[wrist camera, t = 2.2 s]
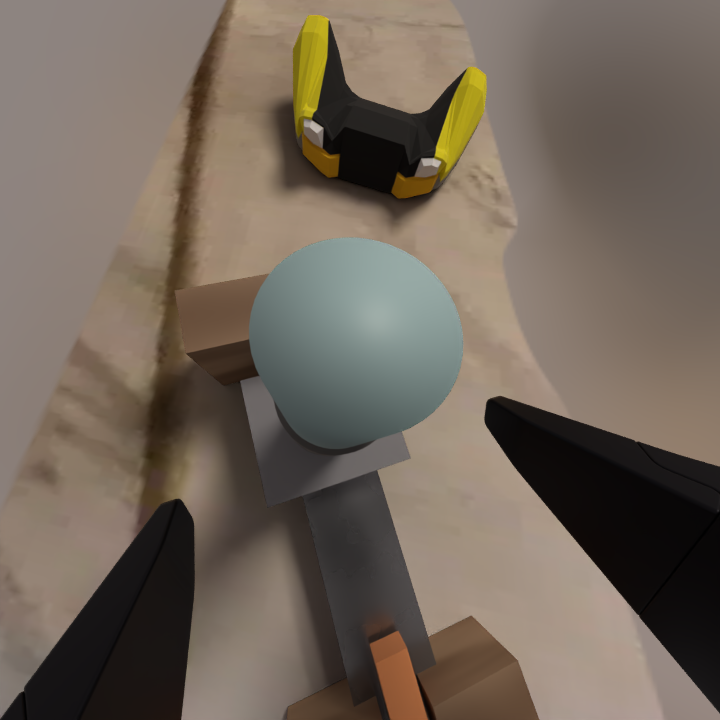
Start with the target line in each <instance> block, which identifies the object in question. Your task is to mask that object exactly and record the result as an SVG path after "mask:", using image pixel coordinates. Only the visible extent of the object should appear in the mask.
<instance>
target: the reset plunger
mask: <svg viewBox="0 0 720 720" xmlns="http://www.w3.org/2000/svg"><path fill="white" fill-rule="evenodd" d="M370 648H371V652H372V655H373V659H374V663H375V667H376V671H377V674H378V678H379V682H380V686H381V689H382V693H383V697H384V701H385V704H386V708H387V712H388V716H389V720H428V718H427V715H426V711H425V708H424V704H423V701H422V698H421V694H420V691H419V687H418V684H417V680H416V677H415V673H414V670H413V667H412V663H411V660H410V656H409V653H408V649H407V647H406V645H405V643H404V641H403V639H402V637H401V635H400V633H399V631H396V632H394V633H392V634H390V635H388V636H386V637H384V638H381V639H379V640H377V641H375V642H373V643H371V644H370Z"/></svg>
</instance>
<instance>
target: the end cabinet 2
mask: <svg viewBox="0 0 720 720" xmlns="http://www.w3.org/2000/svg"><path fill="white" fill-rule="evenodd" d="M428 638H429V641H430V645H431V648H432V651H433V654H434V658H435V661H436V665H434V666H432V667H430V668H428V669H426V670H424V671H422V672H420V673H418V674H417V676H418V680H419V683H420V687H421V690H422V694H423V697H424V700H425V704H426V707H427V711H428V714H429V718H430V720H539V718H538V715H537V712H536V710H535V707H534V704H533V701H532V699H531V696H530V693H529V690H528V688H527V685H526V682H525V679H524V677H523V674H522V671H521V668H520V666H519V663H518V660H517V659H516V658H515V657H514V656H513V655H512V654H511V653H510V652H508V651H507V650H506V649H505V648H504V647H503V646H502V645H501V644H500V643H499V642H498V641H497V640H496V639H495V638H494V637H493V636H492V635H491V634H490V633H489V632H488V631H487V630H486V629H485V628H484V627H483V626H482V625H481V624H480V623H479V622H478V621H476V620H475V619H474V618H473V617H472V616H470V617H468V618H466V619H464V620H462V621H460V622H458V623H456V624H454V625H452V626H450V627H448V628H446V629H444V630H442V631H440V632H438V633H436V634H434V635H432V636H430V637H428ZM287 720H382V716H381V713H380V709H379V706H378V702H377V698H376V696H374V697H372V698H370V699H369V700H367V701H365V702H363V703H361V704H359V705H357V706H355V707H354V704H353V700H352V696H351V692H350V688H349V684H348V680H347V678H345V679H343V680H341V681H339V682H337V683H335V684H333V685H331V686H329V687H327V688H325V689H323V690H321V691H319V692H317V693H315V694H313V695H311V696H309V697H307V698H305V699H303V700H301V701H299V702H297V703H295V704H293V705H291V706H289V707H288V713H287Z"/></svg>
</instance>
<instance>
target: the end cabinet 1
mask: <svg viewBox="0 0 720 720" xmlns="http://www.w3.org/2000/svg"><path fill="white" fill-rule="evenodd" d="M268 275H269V274H265V275H259V276H254V277H248V278H243V279H237V280H231V281H226V282H220V283H215V284H209V285H203V286H198V287H192V288H187V289H181V290H175V295H176V300H177V306H178V312H179V318H180V323H181V329H182V335H183V341H184V346H185V352H186V354H187V355H188V356H189V357H191V358H192V359H193V360H194V361H195V362H196V363H198V364H199V365H200V366H201V367H202V368H203V369H205V370H206V371H207V372H208V373H209V374H211V375H212V376H213V377H214V378H215V379H216V380H218V381H219V382H220V383H221V384H222V385H223V386H224V385H228V384H232V383H236V382H240V381H241V380H245V379H249V378H253V377H257V376H259V374H258V371H257V369H256V367H255V364H254V361H253V357H252V354H251V348H250V342H249V323H250V316H251V310H252V307H253V304H254V300H255V298H256V296H257V294H258V291H259V289H260V287H261V286H262V284H263V283H264V281H265V279H266V278H267V276H268Z"/></svg>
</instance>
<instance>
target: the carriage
mask: <svg viewBox="0 0 720 720" xmlns="http://www.w3.org/2000/svg"><path fill="white" fill-rule="evenodd" d="M249 342H250V348H251V354H252V357H253V361H254V364H255V367H256V369H257V371H258V374H259V376H257V377H253V378H249V379H245V380H241V381H240V383H241V388H242V392H243V397H244V402H245V406H246V411H247V415H248V420H249V425H250V429H251V434H252V439H253V443H254V448H255V453H256V457H257V462H258V467H259V471H260V476H261V480H262V485H263V490H264V494H265V499H266V504H267V508H269V507H271V506H274V505H277V504H280V503H283V502H286V501H289V500H292V499H295V498H297V497H300V496H303V495H306V494H309V493H312V492H315V491H318V490H321V489H323V488H326V487H329V486H332V485H335V484H338V483H341V482H344V481H347V480H349V479H352V478H355V477H358V476H361V475H364V474H367V473H370V472H373V471H375V470H378V469H381V468H384V467H387V466H390V465H393V464H396V463H399V462H401V461H404V460H407V459H410V455H409V452H408V449H407V446H406V443H405V440H404V437H403V434H402V431H404V430H406V429H409V428H411V427H413V426H414V425H416V424H418V423H419V422H421V421H423V420H424V419H425V418H427V417H428V416H429V415H430V414H432V413H433V412H434V411H435V410H436V409H437V408H438V407H439V406H440V405H441V403H442V402H443V401H444V400H445V398H446V397H447V395H448V394H449V392H450V391H451V389H452V387H453V385H454V383H455V381H456V379H457V376H458V373H459V370H460V366H461V361H462V356H463V334H462V327H461V322H460V318H459V315H458V312H457V309H456V306H455V304H454V302H453V300H452V298H451V296H450V294H449V293H448V291H447V290H446V288H445V287H444V285H443V284H442V282H441V281H440V280H439V279H438V278H437V276H436V275H435V274H434V273H433V272H432V271H431V270H430V269H429V268H428V267H427V266H425V265H424V264H423V263H422V262H420V261H419V260H418V259H416V258H415V257H413V256H412V255H410V254H408V253H407V252H405V251H403V250H401V249H399V248H397V247H394V246H392V245H389V244H386V243H383V242H379V241H375V240H371V239H364V238H335V239H329V240H324V241H320V242H317V243H314V244H311V245H308V246H306V247H304V248H302V249H300V250H298V251H296V252H294V253H293V254H291V255H290V256H288V257H287V258H285V259H284V260H283V261H282V262H281V263H280V264H279V265H277V266H276V267H275V268H274V270H273V271H272V272H271V273H270V274H269V275H268V276H267V278H266V279H265V281H264V283H263V284H262V286H261V287H260V289H259V291H258V294H257V296H256V298H255V300H254V304H253V307H252V310H251V316H250V323H249Z"/></svg>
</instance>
